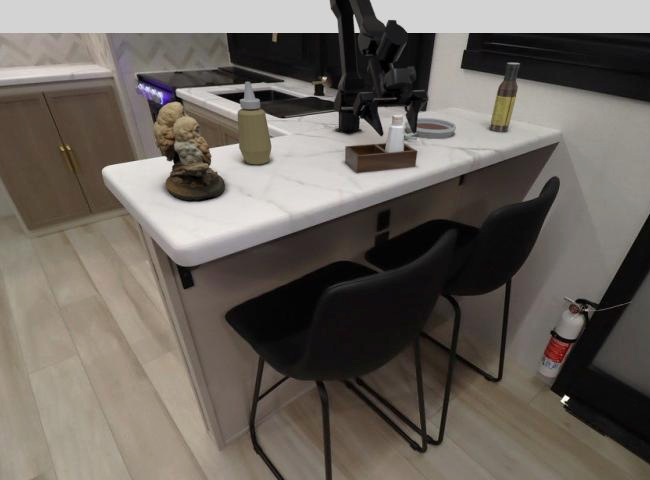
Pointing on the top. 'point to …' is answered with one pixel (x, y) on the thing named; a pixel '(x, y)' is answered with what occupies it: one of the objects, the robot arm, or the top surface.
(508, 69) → the sauce bottle
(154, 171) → the top surface
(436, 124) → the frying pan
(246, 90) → the squeeze bottle
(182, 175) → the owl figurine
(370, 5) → the robot arm
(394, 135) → the pepper shaker
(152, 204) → the top surface
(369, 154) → the divided wooden tray
